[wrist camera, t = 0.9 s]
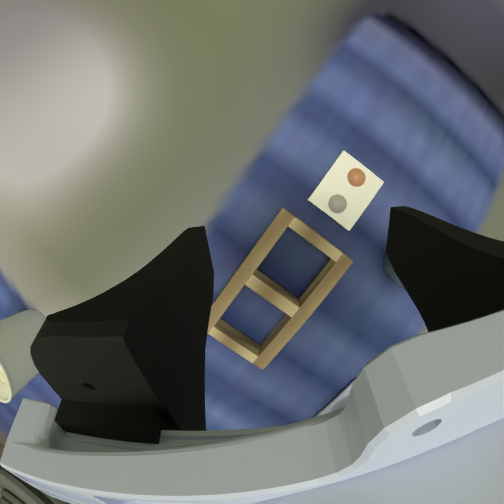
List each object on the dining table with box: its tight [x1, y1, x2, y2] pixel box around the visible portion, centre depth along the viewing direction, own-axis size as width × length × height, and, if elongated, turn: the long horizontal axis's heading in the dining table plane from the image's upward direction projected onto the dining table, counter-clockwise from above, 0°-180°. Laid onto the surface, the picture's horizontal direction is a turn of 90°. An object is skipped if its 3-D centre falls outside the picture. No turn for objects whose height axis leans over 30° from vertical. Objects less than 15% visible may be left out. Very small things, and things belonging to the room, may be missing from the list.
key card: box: [308, 150, 384, 231], centre depth 28 cm, size 5×6×1 cm
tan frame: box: [207, 208, 353, 370], centre depth 29 cm, size 8×14×2 cm, turn 145°
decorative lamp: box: [0, 449, 71, 504], centre depth 28 cm, size 19×19×30 cm
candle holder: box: [0, 309, 46, 403], centre depth 30 cm, size 10×10×12 cm
